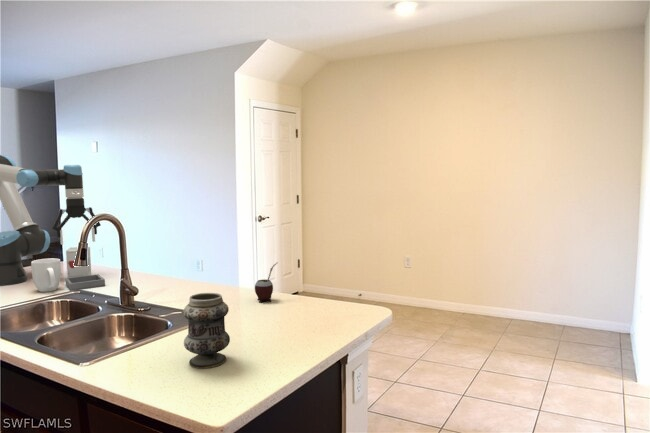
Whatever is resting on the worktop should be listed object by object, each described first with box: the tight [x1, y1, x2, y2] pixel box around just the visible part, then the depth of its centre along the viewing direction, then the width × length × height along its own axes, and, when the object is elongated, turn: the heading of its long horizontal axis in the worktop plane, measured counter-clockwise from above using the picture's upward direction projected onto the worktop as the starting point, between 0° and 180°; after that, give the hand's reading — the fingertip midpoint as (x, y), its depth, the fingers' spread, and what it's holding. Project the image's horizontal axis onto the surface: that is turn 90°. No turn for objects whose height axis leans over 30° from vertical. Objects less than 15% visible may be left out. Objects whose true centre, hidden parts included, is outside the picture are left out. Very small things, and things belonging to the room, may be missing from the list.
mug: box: [30, 257, 62, 293], centre depth 208 cm, size 15×11×13 cm
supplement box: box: [65, 246, 92, 278], centre depth 230 cm, size 9×9×15 cm
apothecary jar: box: [182, 292, 231, 369], centre depth 130 cm, size 12×12×18 cm
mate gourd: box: [254, 261, 278, 304], centre depth 189 cm, size 8×8×15 cm
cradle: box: [64, 273, 106, 292], centre depth 218 cm, size 14×14×3 cm
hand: (78, 242), depth 229 cm, fingers open, 13 cm apart
